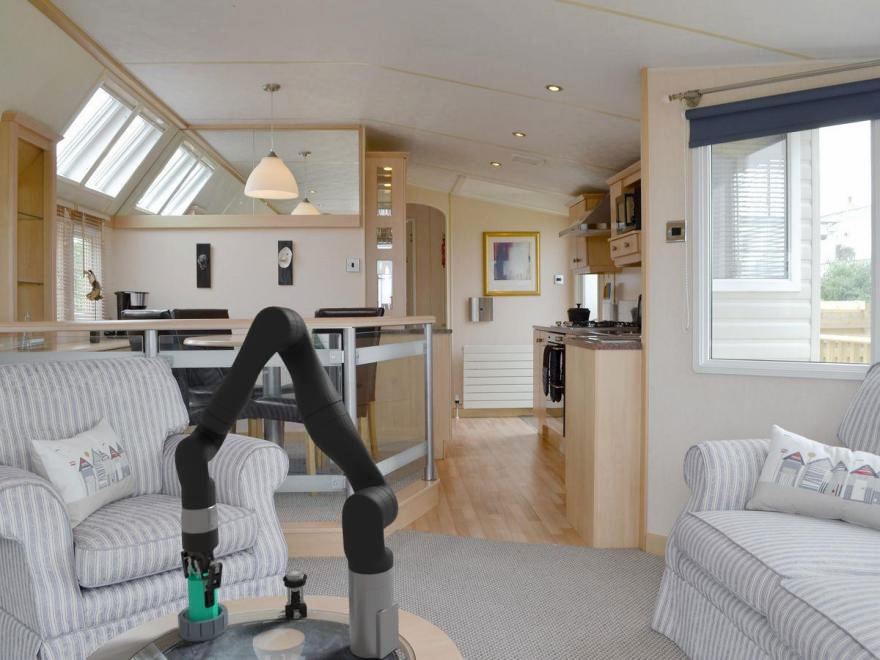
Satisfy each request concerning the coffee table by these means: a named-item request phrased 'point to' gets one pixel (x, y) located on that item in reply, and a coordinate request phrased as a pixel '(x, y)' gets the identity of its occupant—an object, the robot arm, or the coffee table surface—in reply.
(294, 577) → the push button
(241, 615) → the coffee table surface
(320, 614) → the coffee table surface
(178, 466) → the robot arm
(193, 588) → the candle
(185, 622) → the candle dish
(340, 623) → the coffee table surface
